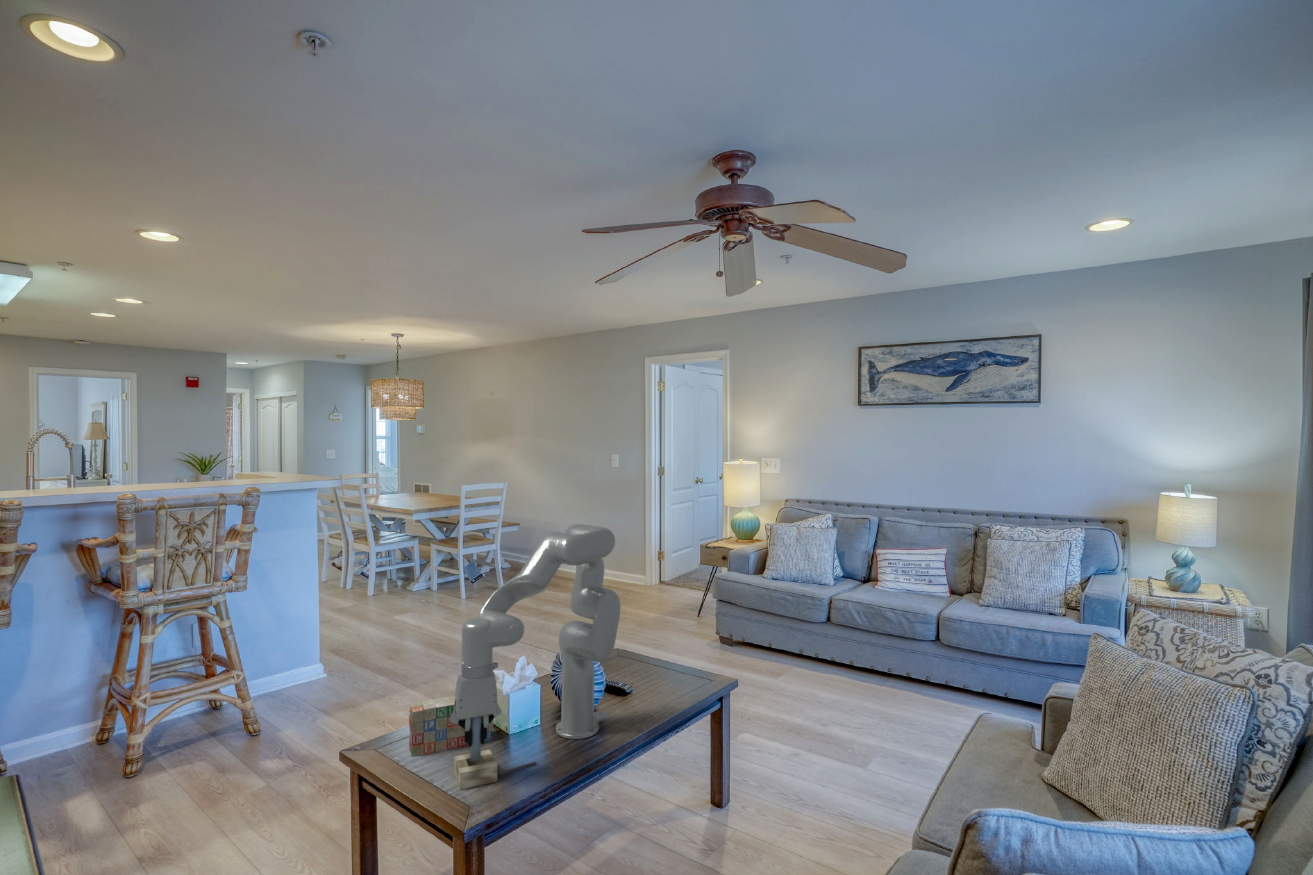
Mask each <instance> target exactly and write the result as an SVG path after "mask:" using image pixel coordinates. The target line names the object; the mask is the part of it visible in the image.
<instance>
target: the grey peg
mask: <svg viewBox="0 0 1313 875" xmlns="http://www.w3.org/2000/svg"><path fill="white" fill-rule="evenodd" d="M470 727H471V730H472V746H471V747H469V754H470V761H472V762H477V761H479V760H480V759H481V751H482V744H481V716H480V717H475V718H471V726H470Z"/></svg>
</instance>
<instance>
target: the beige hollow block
mask: <svg viewBox="0 0 1313 875" xmlns="http://www.w3.org/2000/svg"><path fill="white" fill-rule="evenodd" d="M453 774H454V777H455V780H456V783H457V786H458V788H459V791H460V790H465V789H466V790H467V789H470V788H474V787H478V786H479V787H480V786H483V785H486V784H491V783H492V784H493V783H496V782H498V763H497V761H496V759H495V758H494V754H493V753H492V751H491V749H485V750H481V759H480V760H479V761H477V762H472V761H470V753H465V754H461V755H456V756H453Z"/></svg>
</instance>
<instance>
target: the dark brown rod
mask: <svg viewBox="0 0 1313 875" xmlns="http://www.w3.org/2000/svg"><path fill="white" fill-rule="evenodd" d="M535 765H537V762H536V761H535V760H534V761H531V762H528V763H525V764H521V765H518V766H516V767H515V766H514V767H512V768H508V769H506V770H501V771H499V772H498V776H499V777H500V776H504V775H507V774H510V773H514V772H516V771H520V770H523V769H526V768H529V767H532V766H535Z"/></svg>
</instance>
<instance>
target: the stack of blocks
mask: <svg viewBox="0 0 1313 875" xmlns="http://www.w3.org/2000/svg"><path fill="white" fill-rule="evenodd" d="M454 701H455V695H452V696H447V697H441V698H435V699H430V700H423V701H417V702H411V703H409V715H408V726H409V732H408V734H409V739H408V740H409V745H408V746H409V747H408V748H409V752H410V755H411V757H413V758H414V757H418V756H422V755H429V754H433V753H440V752H445V751H448V750H452V749H457V748H462V747H466V746H467V747H468V744H467V743H465V741H464V732H465V729H463V728H462V727H461V726H460V725H458V724H454V723H451V722H450V717H451V715H452V712H453V710H454ZM481 722H482V716H481ZM470 726H471V720H470ZM492 734H493V720H492V721H491V723H490V724H489V726H488V727H487V739H485V743H488V742H492V739H493V738H492Z"/></svg>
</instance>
